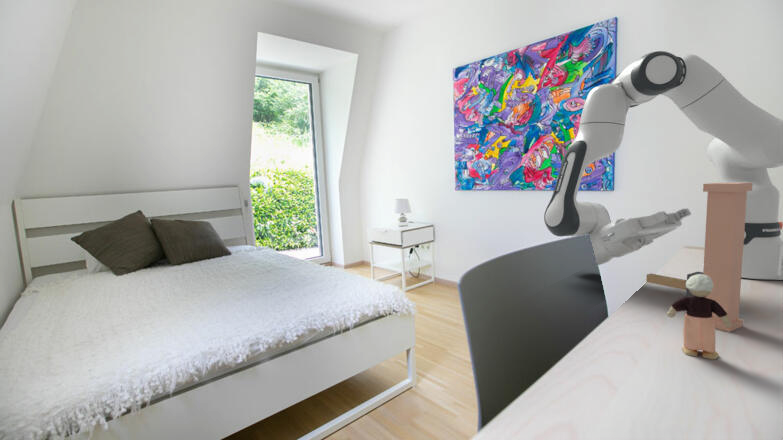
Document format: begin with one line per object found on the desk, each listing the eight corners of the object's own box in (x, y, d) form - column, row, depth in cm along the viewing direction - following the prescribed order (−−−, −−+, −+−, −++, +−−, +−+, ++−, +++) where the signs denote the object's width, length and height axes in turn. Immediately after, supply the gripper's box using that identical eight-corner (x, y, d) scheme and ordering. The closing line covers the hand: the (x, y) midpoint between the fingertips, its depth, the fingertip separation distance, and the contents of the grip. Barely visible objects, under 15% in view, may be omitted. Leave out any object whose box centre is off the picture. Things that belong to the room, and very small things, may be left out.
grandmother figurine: (722, 351, 59) (727, 273, 58) (731, 363, 56) (737, 279, 54) (663, 344, 62) (666, 269, 61) (668, 354, 59) (672, 275, 58)
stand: (709, 317, 73) (717, 182, 70) (742, 326, 68) (752, 182, 65) (695, 322, 70) (703, 183, 68) (729, 332, 66) (738, 183, 63)
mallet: (653, 288, 92) (654, 264, 92) (720, 303, 80) (722, 275, 80) (642, 291, 90) (643, 266, 90) (710, 306, 78) (711, 278, 78)
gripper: (590, 229, 93) (642, 203, 81) (640, 222, 102) (693, 197, 90) (602, 253, 90) (657, 229, 79) (652, 243, 99) (707, 221, 88)
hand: (676, 212), depth 85 cm, fingers open, 8 cm apart
